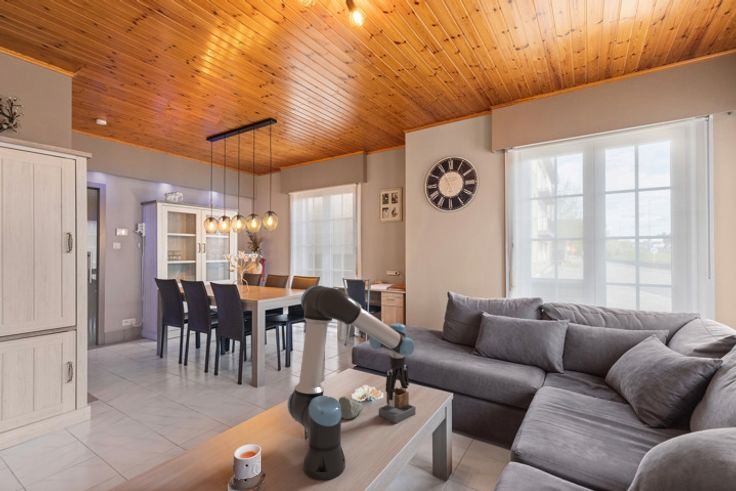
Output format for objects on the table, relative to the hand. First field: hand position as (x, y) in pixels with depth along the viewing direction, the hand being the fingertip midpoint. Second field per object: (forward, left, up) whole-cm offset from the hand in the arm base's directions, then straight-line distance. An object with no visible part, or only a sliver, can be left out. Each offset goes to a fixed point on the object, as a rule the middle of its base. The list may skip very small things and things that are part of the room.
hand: (397, 403), depth 166 cm
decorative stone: (-17, +15, -6) cm, 23 cm away
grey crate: (0, 0, -5) cm, 5 cm away
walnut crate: (0, 0, 0) cm, 0 cm away
